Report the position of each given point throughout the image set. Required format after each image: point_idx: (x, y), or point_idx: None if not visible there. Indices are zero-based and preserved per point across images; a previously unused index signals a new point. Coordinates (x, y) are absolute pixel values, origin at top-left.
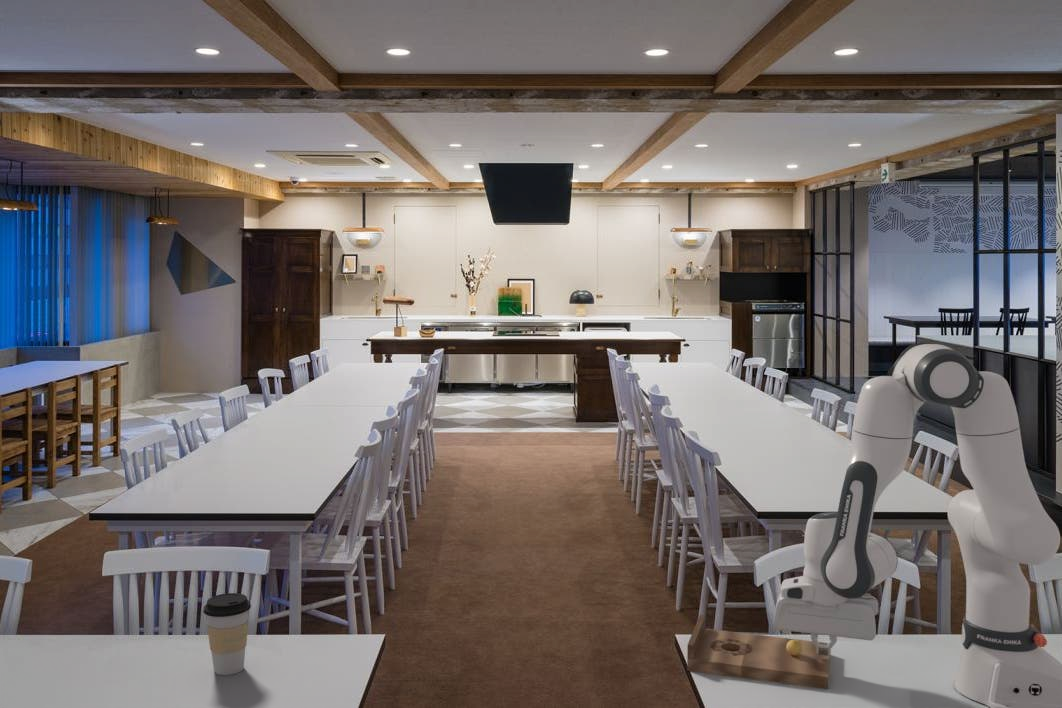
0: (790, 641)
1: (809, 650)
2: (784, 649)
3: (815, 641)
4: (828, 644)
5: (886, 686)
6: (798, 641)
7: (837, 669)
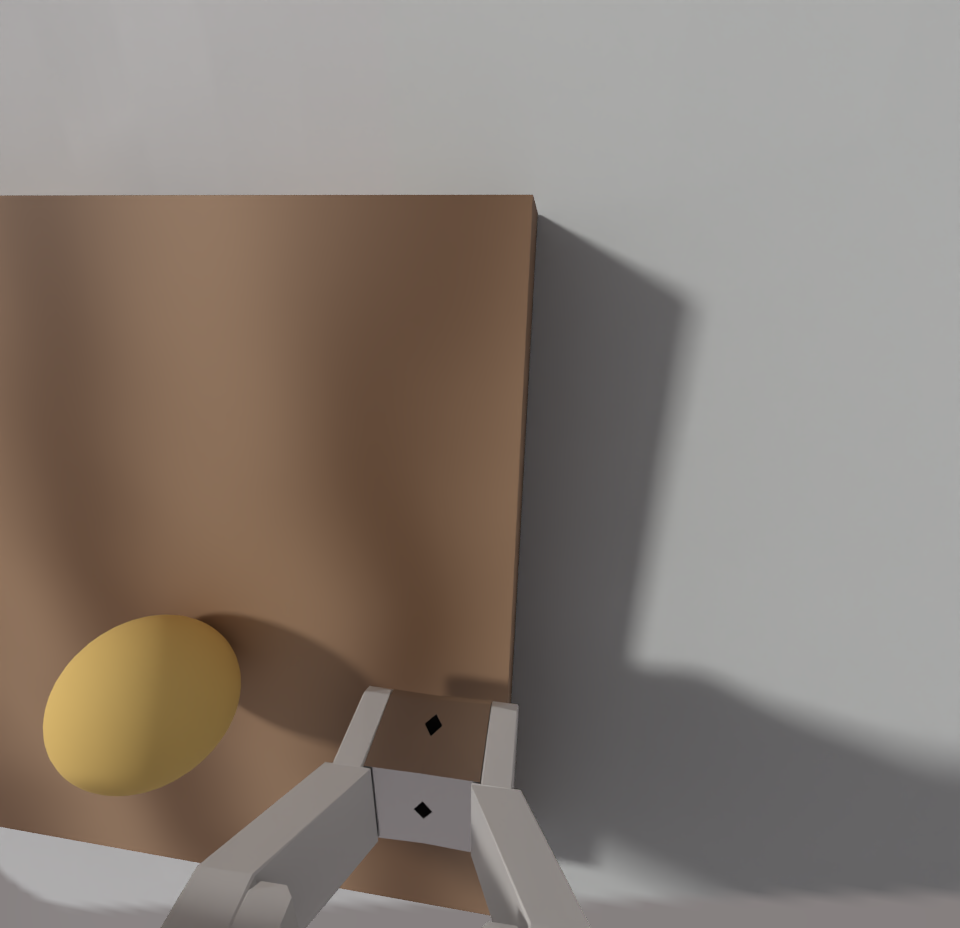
0: (58, 770)
1: (310, 515)
2: (93, 544)
3: (305, 911)
4: (479, 832)
5: (927, 762)
6: (131, 756)
7: (589, 557)
